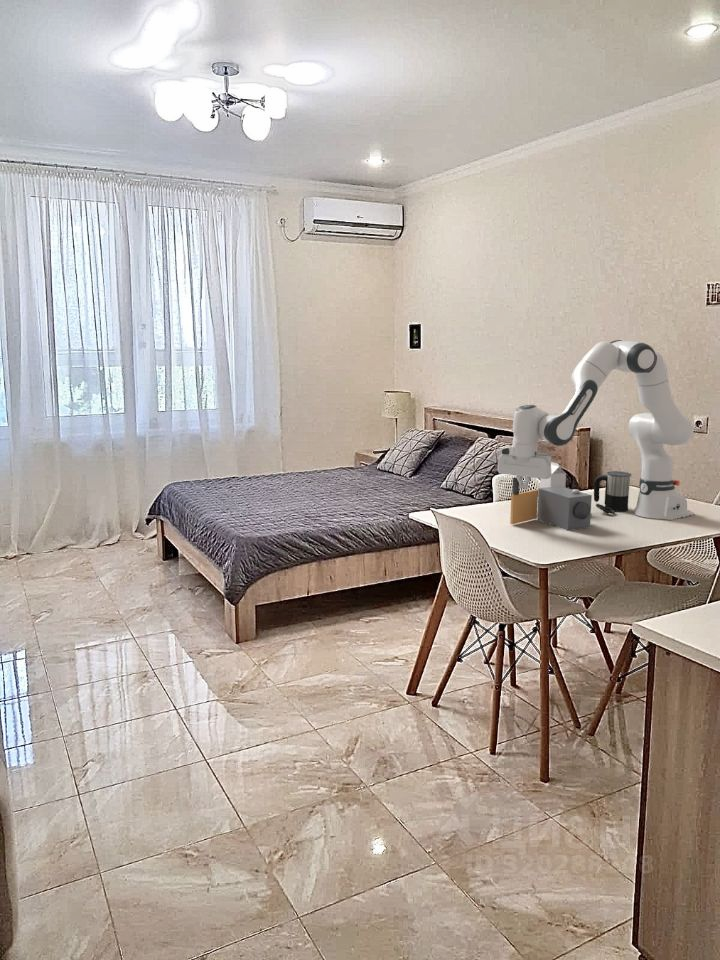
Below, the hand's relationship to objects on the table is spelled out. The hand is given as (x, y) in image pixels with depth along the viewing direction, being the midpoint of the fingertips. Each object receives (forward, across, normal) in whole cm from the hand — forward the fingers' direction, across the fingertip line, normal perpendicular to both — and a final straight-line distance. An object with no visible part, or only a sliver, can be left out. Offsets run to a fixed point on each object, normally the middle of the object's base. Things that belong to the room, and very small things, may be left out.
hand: (523, 488), depth 276 cm
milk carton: (+14, +4, -31) cm, 35 cm away
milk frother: (+15, -16, -43) cm, 49 cm away
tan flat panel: (+14, +2, -5) cm, 15 cm away
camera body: (+14, -10, -13) cm, 22 cm away
